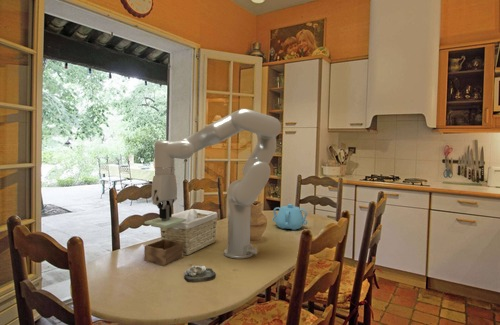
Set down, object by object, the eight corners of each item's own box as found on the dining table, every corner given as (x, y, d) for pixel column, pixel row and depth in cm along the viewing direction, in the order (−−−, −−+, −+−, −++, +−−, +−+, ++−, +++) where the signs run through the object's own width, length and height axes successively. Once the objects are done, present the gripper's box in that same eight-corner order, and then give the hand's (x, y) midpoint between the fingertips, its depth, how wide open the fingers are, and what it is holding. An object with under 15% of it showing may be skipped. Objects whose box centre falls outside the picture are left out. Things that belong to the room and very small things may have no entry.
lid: (186, 223, 130) (185, 204, 130) (166, 230, 120) (165, 209, 120) (165, 220, 136) (164, 201, 135) (144, 226, 126) (144, 206, 125)
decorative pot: (282, 232, 172) (283, 207, 171) (270, 225, 187) (271, 202, 186) (309, 230, 178) (310, 206, 177) (295, 223, 193) (295, 201, 192)
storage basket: (186, 257, 131) (186, 222, 130) (156, 250, 139) (157, 217, 138) (218, 242, 152) (219, 211, 152) (191, 237, 160) (191, 208, 159)
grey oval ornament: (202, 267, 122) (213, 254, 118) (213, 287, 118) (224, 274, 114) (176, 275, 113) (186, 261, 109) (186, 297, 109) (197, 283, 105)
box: (183, 257, 131) (183, 243, 130) (164, 266, 122) (164, 250, 121) (163, 253, 136) (163, 239, 136) (144, 260, 127) (144, 245, 126)
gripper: (171, 169, 136) (172, 212, 137) (142, 173, 122) (143, 220, 123) (185, 170, 132) (186, 214, 133) (156, 173, 118) (157, 223, 119)
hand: (165, 217), depth 128 cm, fingers closed on lid
